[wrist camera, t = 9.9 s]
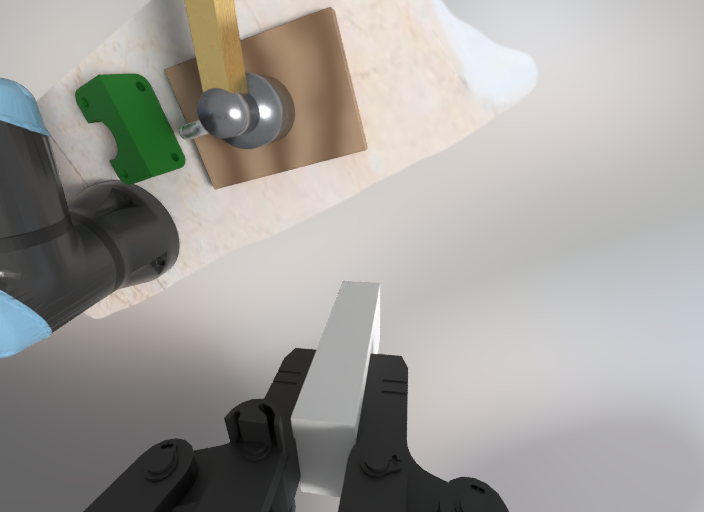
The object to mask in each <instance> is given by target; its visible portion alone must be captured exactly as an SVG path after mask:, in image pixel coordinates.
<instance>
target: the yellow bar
mask: <svg viewBox="0 0 704 512" xmlns="http://www.w3.org/2000/svg"><path fill="white" fill-rule="evenodd" d="M185 5H186V10H187V15H188V20H189V25H190V30H191V35H192V40H193V45H194V50H195V55H196V60H197V65H198V70H199V74H200V79H201V84H202V89H203V94H202V95H201V97H200V98H199V101H198V105H197V113H198V117H199V120H200V122H201V124H202V126H203V127H204V129H205V130H206V131H207V132H208V133H209V134H211V135H212V136H214V137H217V138H223V139H224V138H230V137H234V136H239V135H243V134H248V133H250V132H252V131H253V130H254V129H255V128H256V127H257V125H258V123H259V119H260V111H259V107H258V104H257V102H256V100H255V99H254V98H253V96H252V95H250V94H249V93H248V90H247V83H246V76H245V70H244V63H243V57H242V50H241V44H240V37H239V30H238V24H237V17H236V11H235V4H234V0H185Z"/></svg>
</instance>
